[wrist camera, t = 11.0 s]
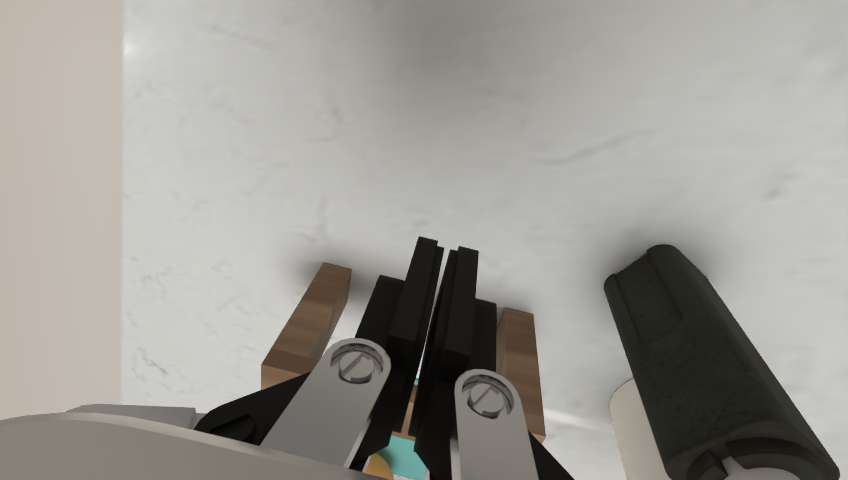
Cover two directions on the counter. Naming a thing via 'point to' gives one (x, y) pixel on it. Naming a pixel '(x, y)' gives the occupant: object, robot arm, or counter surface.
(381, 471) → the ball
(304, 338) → the bridge
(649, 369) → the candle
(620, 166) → the counter surface
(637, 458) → the cylindrical container
